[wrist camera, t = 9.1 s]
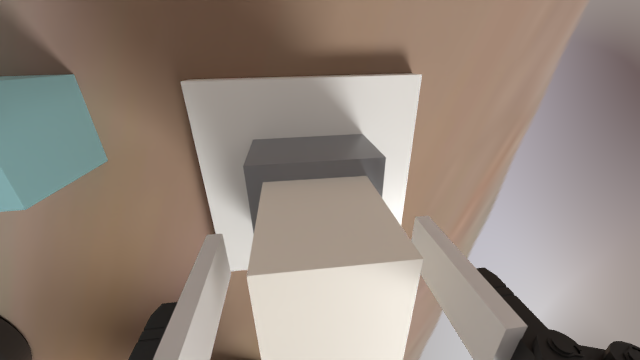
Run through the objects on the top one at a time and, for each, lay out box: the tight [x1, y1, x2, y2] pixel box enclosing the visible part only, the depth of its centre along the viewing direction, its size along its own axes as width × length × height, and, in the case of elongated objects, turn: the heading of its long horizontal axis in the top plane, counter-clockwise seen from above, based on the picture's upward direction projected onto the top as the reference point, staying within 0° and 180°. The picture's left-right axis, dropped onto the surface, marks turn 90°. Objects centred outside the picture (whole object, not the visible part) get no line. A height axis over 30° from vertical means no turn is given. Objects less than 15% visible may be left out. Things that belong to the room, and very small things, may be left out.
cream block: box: [247, 176, 423, 360], centre depth 13 cm, size 6×6×7 cm
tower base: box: [180, 73, 422, 271], centre depth 19 cm, size 16×16×6 cm
